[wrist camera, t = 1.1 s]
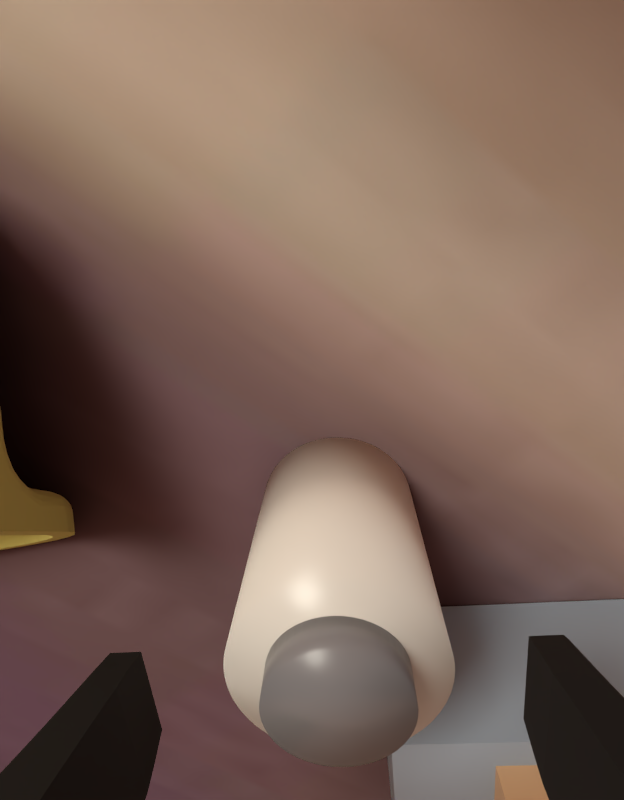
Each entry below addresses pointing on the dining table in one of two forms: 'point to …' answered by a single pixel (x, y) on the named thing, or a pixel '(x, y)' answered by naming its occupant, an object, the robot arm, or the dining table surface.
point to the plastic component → (29, 509)
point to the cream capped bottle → (338, 610)
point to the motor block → (498, 699)
